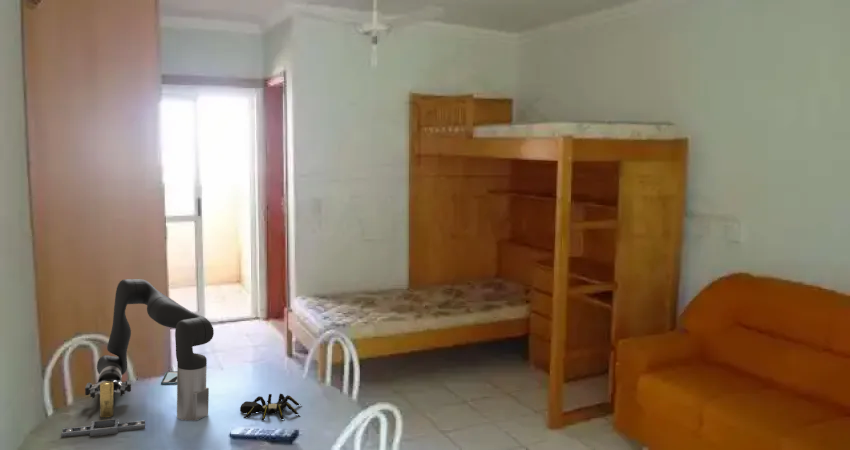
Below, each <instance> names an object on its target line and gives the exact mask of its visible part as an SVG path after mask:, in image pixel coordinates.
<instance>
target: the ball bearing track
mask: <svg viewBox="0 0 850 450" xmlns="http://www.w3.org/2000/svg"><path fill="white" fill-rule="evenodd" d="M104 426H105V427H104ZM143 429H146V420H144V419H143V420H135V421H134V420H133V421H124V422H119V418H108V419H107V418H106V419H99V420H92V421H91V425H85V426H76V427H75V426H74V427H64V428H62V432H61V435H60V436H61V438H67V437H76V436H85V435H86V436H87V435H89V436H90V437H98V436H99V435H100V436H107V435H108V434H109V435H117V434H118V432H123V431H133V430H143ZM100 436H99V437H100Z"/></svg>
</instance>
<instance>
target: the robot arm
mask: <svg viewBox="0 0 850 450" xmlns="http://www.w3.org/2000/svg"><path fill="white" fill-rule="evenodd" d="M137 304H138V305H146V311H147V315H148V317H149V318H150V319H152V321H155V323H158V324H159V325H161V326H164V327H167V328H170V329H171V328H172V329H174V330H175V331H174V336H175V338H174V339H175V357H176V361H177V363H176V364H177V365H176V366H177V368H176V369H177V370H176V371H177V384H176V418H177V419H178V420H181V421H195V422H197V421H198V420H200V419H204V418H205V417H208V416H209V401H210V400H209V398H210V397H209V387H207V363H208V362H207V361H208V359H207V357H206V356H205V355H203V354H200V353H195V352H194V349H193V347H198V346H202V345H205V344H207V343H210V342H211V341H212V340H213V338H214V333H215V332H214V331H215V330H214V327H213V325H212V323H211V321H210V320H209V319H208V318H206V317H205V316H203V315H200V314H198V313H196V312H193V311H191V310H189V309H188V308H186V307H184V306H182V305H181V304H179V303H177V302H176V301H175V300H174V299H172V298H171V297H168V296H167V295H165V294H164V293H162V292H161V291H159V290H158V289H157V288H156V287H154V285H152V283H150V282H149V281H148V280H146V279H143V278H137V279H136V278H135V279H134V278H131V279H127V278H126V279H122V280H119V283H118V284H117V287H116V291H115V296H114V307H113V317H112V326H111V331H110V336H109V338H108V339H109V340H108V342H107V346H106V347H107V348H106V350H107V352H109V353H110V354H112V355H108V354H105V355H102V356H101V357H99V359H98V360H97V363H96V370H97V373H98V374H99V376H98V379H97V382H96V383H95V384H92V382H87V383H86V385H85V388H84V395H85V396H89V397H90V398H92V399H95V398H96V395H100V383H102V382H106V381H111V382H113V393H116V394H117V393H118V394H119V393H120V397H122V396H124V395H125V394H126V392H129V393H130V392H132V383H131V382H132V381H131V379H130V378H129V379H126V380H125V381H124V382H123V381H122V380H123V379H122V378H123V375H124V374H126V372H127V370H128V354H127V352H128V348H129V344H130V341H131V340H130V339H131V335H132V330H131V326H130V324H129V321H128V319H127V315H126V310H127V309H126V308H127V306H128V305H137Z"/></svg>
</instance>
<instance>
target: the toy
mask: <svg viewBox="0 0 850 450" xmlns="http://www.w3.org/2000/svg"><path fill="white" fill-rule="evenodd" d="M272 397H273V396H272V393H269V394H268V397H267V401H266V400H265V399H264V398H263V396H262V395H261V396H257V397H256V398H255V399H254V400H253V401H245V402H243V403H241V405H240V407H239V408H240V409H239V410H240V413H242V414H243V413H247V414H244V417H243V419H247V418H246V417H248V418H249V417H251V416H252V415H253V413H255V414H257V413H256V412H260V413H262V414H263V415H262V418H261V420H264V419H266V418H267V415H271V413H274V414H273V415H275V414H277V413H278V417H279V419H280V418H281V419H284V420H285V418H284V414H283V411H284V410H285V409H286V407H287V409H288V410H290V411H291V412H292V413H293V414H294V415H295V414H299V412H298V411H297V410H296V409H295V408H294V406H292V404H294V405H296V406H297V405H299V404H300V403H299V402H298V401H297V400H295V398H293V397H292V396H290V395H288V394H287V395H286V396H285V395H284V394H283V393H279V395H278V401H277V402H276V403H275V402H274V403H272ZM288 400H289V401H290V402H291V403H292V404H291V403H289V401H288ZM258 402H260V403H261V404H260V403H258ZM267 402H268V403H267ZM281 419H280V420H281ZM264 421H265V420H264Z"/></svg>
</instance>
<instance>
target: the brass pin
mask: <svg viewBox="0 0 850 450" xmlns="http://www.w3.org/2000/svg"><path fill="white" fill-rule="evenodd" d="M113 416H114V392H113V382H111V381H106V382H102V383H100V394H99V417H100V418H102V417H103V419H104V417H105V419H107V417H108V418H111V417H113Z"/></svg>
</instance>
